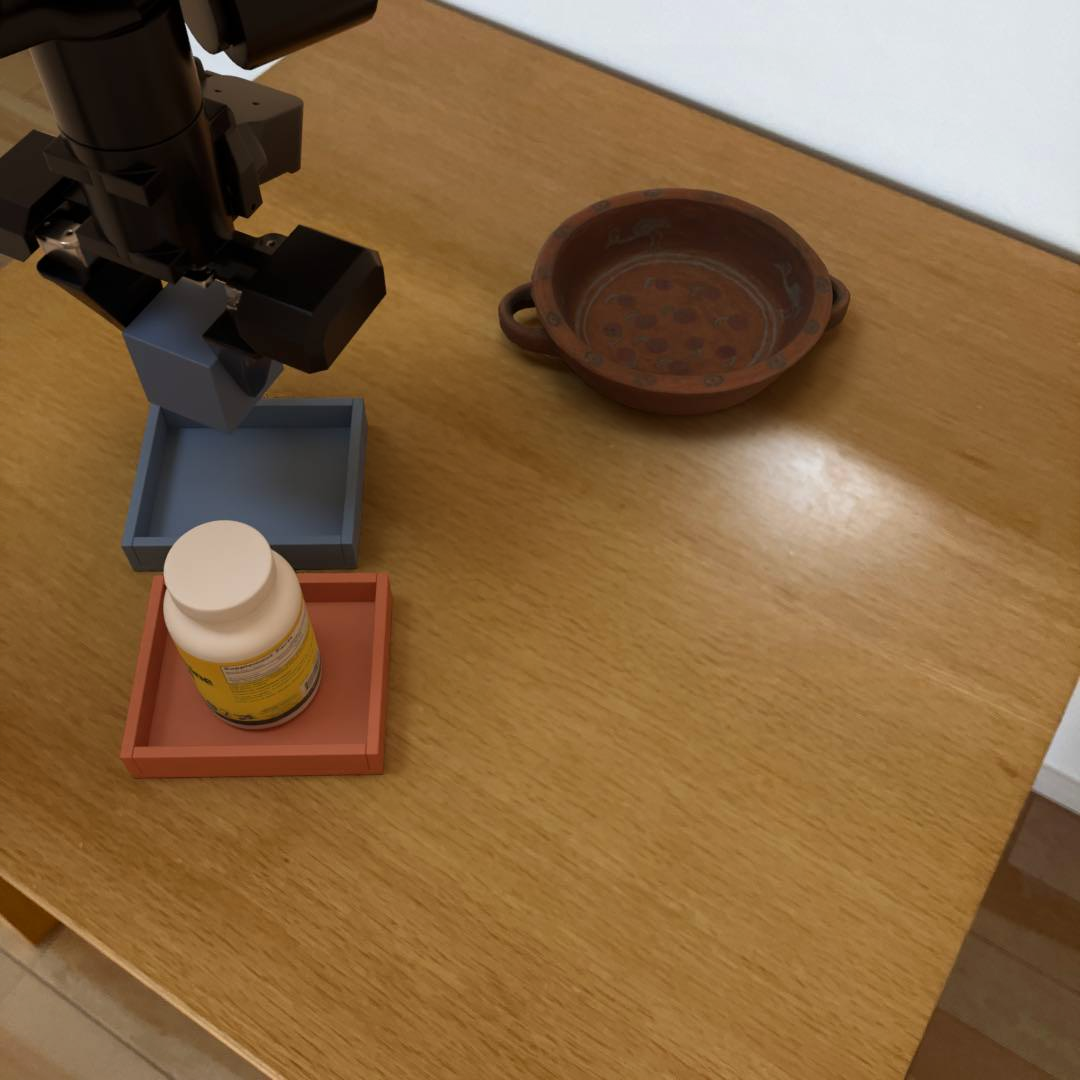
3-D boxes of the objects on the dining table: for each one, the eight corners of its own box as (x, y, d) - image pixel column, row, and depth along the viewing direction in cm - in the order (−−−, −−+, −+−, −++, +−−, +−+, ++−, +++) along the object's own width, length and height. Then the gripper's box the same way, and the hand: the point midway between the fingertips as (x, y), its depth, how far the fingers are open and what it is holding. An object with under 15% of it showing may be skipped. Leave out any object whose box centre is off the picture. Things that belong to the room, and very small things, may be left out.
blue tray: (133, 571, 63) (120, 546, 61) (162, 426, 69) (151, 398, 67) (357, 568, 64) (352, 543, 62) (367, 424, 69) (363, 397, 67)
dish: (878, 430, 70) (901, 375, 66) (514, 460, 68) (514, 405, 64) (807, 233, 80) (823, 173, 75) (486, 254, 78) (485, 195, 73)
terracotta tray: (133, 778, 57) (118, 758, 55) (165, 599, 62) (153, 574, 60) (383, 774, 57) (378, 754, 55) (392, 596, 63) (388, 572, 61)
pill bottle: (189, 648, 60) (131, 528, 51) (305, 610, 62) (268, 487, 52) (217, 752, 57) (160, 644, 48) (338, 709, 58) (306, 597, 49)
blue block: (231, 436, 58) (209, 368, 54) (147, 402, 59) (120, 332, 55) (285, 369, 60) (268, 299, 56) (204, 337, 61) (182, 266, 57)
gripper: (436, 61, 48) (451, 329, 61) (67, -55, 52) (155, 220, 65) (290, 225, 42) (341, 482, 55) (-112, 81, 46) (24, 352, 59)
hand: (213, 372), depth 59 cm, fingers closed on blue block, 5 cm apart
